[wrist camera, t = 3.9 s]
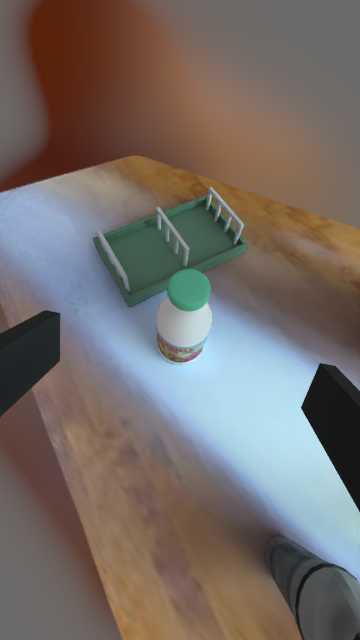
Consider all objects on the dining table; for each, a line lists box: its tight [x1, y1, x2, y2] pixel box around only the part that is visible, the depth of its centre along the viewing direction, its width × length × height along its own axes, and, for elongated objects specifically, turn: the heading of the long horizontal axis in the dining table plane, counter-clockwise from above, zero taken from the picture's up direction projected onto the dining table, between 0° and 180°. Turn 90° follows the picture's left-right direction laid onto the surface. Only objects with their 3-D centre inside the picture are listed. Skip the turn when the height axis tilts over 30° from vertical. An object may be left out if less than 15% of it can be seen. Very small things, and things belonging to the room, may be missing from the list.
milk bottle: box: [156, 269, 212, 366], centre depth 35 cm, size 8×8×20 cm
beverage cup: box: [265, 536, 360, 640], centre depth 24 cm, size 7×7×20 cm
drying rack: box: [93, 187, 248, 307], centre depth 50 cm, size 27×16×6 cm, turn 120°
